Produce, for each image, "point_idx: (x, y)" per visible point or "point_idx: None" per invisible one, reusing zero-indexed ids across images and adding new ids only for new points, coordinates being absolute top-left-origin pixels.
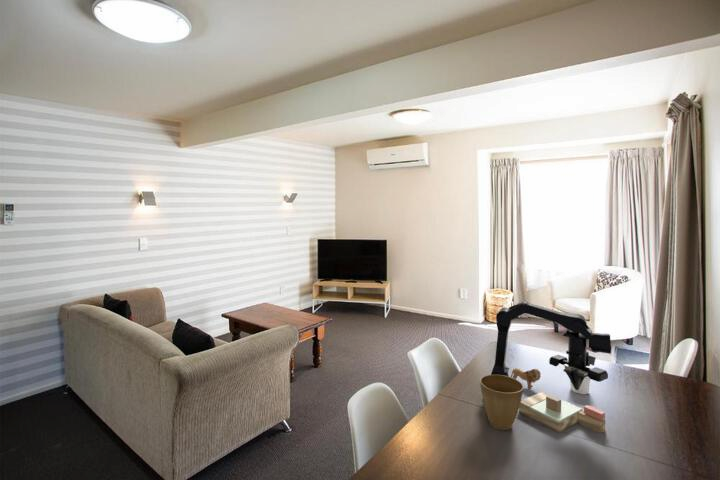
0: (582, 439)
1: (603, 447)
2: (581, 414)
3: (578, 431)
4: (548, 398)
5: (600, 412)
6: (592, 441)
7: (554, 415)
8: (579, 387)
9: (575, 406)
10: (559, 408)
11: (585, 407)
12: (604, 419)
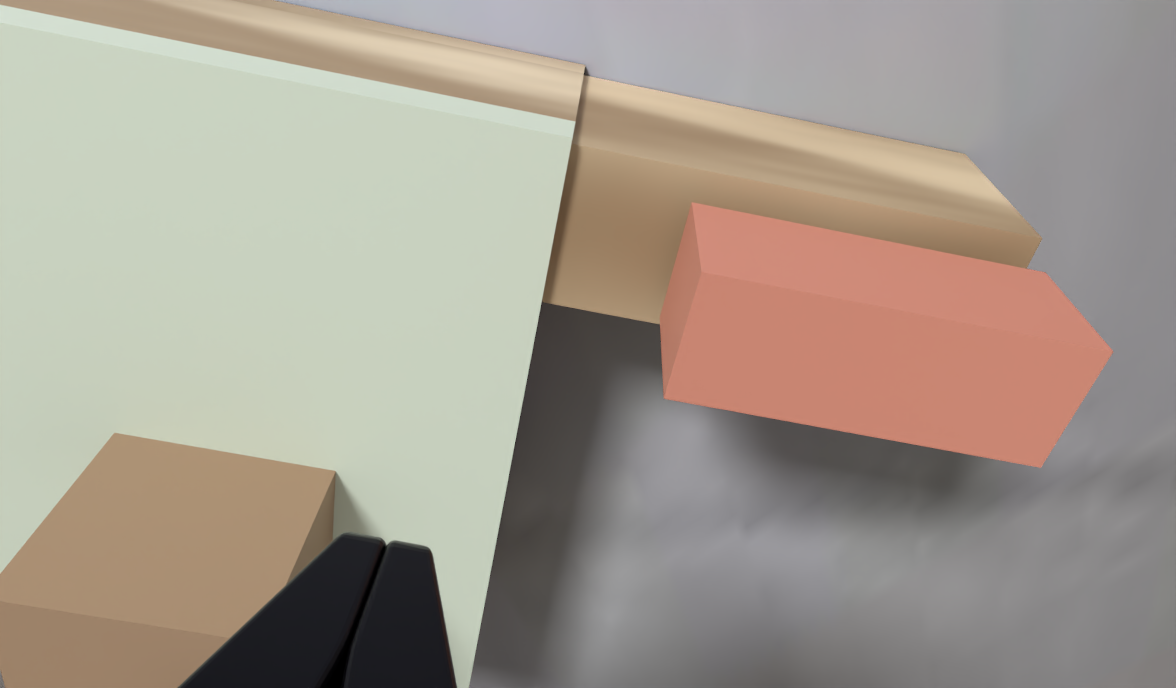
0: (733, 544)
1: (957, 545)
2: (619, 310)
3: (647, 425)
4: (73, 681)
5: (1013, 419)
6: (835, 515)
7: None
8: (441, 625)
9: (428, 139)
10: (317, 550)
11: (696, 398)
12: (1025, 238)
